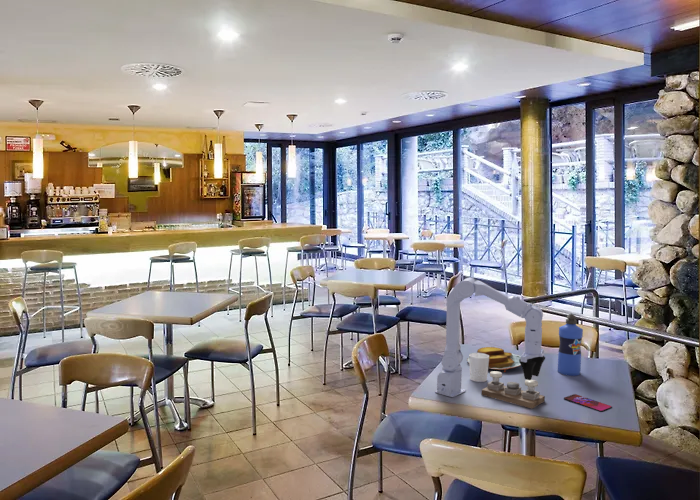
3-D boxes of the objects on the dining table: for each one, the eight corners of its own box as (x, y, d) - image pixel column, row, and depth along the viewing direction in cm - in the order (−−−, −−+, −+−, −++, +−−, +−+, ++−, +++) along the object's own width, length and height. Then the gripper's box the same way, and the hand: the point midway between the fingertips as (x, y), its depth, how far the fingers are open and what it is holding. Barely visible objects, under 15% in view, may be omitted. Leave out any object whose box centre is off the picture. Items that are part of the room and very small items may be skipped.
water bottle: (585, 374, 234) (588, 315, 232) (568, 377, 231) (571, 317, 228) (569, 368, 243) (572, 311, 240) (552, 370, 239) (554, 313, 237)
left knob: (498, 384, 207) (498, 375, 207) (487, 381, 210) (487, 373, 210) (503, 381, 210) (504, 373, 210) (493, 378, 213) (493, 370, 213)
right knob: (534, 393, 198) (534, 384, 197) (522, 390, 201) (522, 381, 200) (539, 390, 201) (540, 381, 201) (528, 387, 204) (528, 378, 204)
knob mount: (532, 408, 196) (533, 393, 195) (481, 394, 209) (482, 380, 209) (544, 401, 203) (545, 386, 202) (494, 388, 216) (495, 374, 216)
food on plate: (517, 377, 231) (518, 362, 230) (459, 368, 243) (459, 353, 242) (530, 361, 253) (531, 347, 252) (476, 353, 265) (477, 340, 264)
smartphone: (601, 411, 193) (562, 397, 205) (601, 413, 193) (562, 400, 205) (613, 406, 197) (574, 393, 210) (613, 408, 198) (574, 395, 210)
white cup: (466, 380, 225) (466, 356, 224) (471, 375, 232) (472, 351, 231) (485, 383, 222) (486, 359, 221) (490, 378, 228) (491, 354, 228)
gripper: (534, 346, 191) (533, 384, 192) (552, 338, 202) (550, 375, 203) (515, 342, 196) (514, 380, 197) (533, 335, 206) (532, 371, 208)
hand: (531, 377), depth 200 cm, fingers open, 5 cm apart
